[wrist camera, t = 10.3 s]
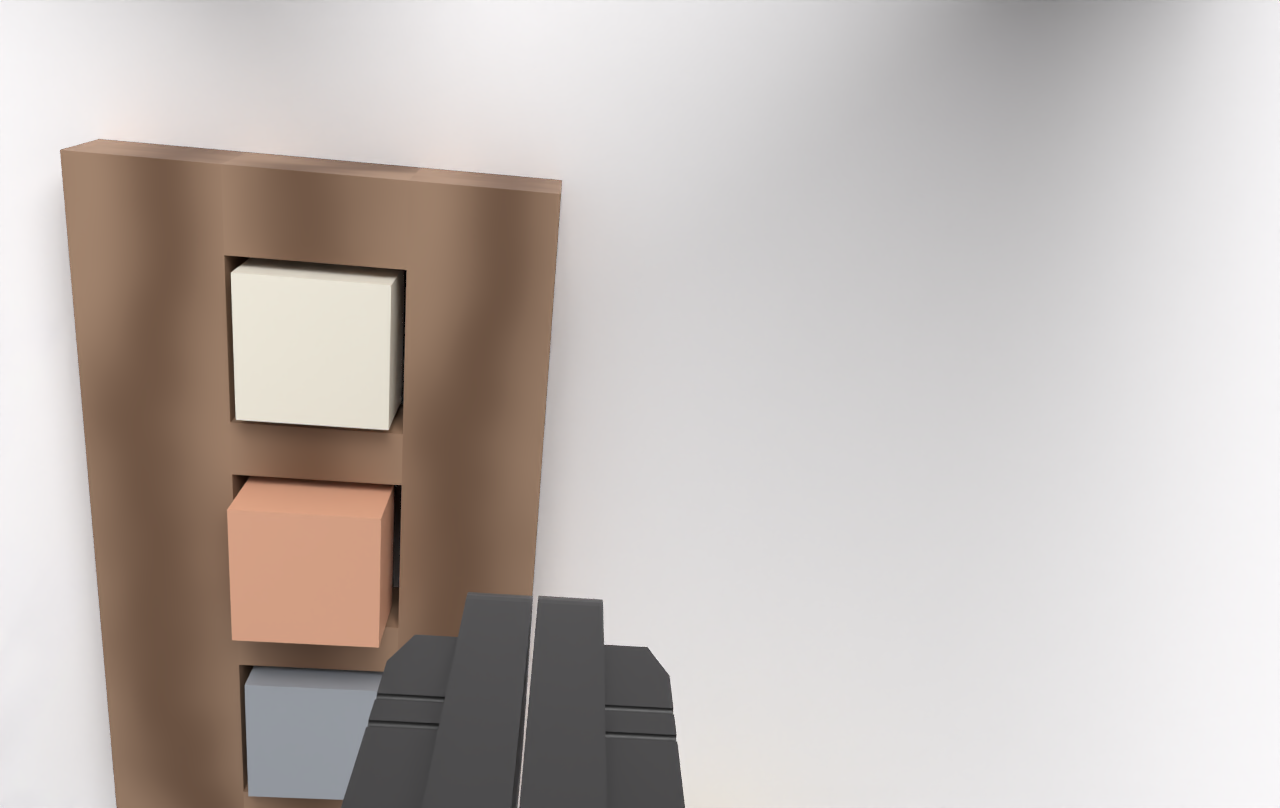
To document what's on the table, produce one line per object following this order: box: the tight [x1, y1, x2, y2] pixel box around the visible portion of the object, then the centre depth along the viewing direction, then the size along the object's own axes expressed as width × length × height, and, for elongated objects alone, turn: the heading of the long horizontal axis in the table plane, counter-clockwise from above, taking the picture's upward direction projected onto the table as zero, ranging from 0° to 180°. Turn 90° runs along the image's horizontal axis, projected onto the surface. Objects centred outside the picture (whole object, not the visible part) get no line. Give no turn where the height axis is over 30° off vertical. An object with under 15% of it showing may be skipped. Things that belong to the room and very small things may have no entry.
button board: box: [60, 139, 562, 808], centre depth 41 cm, size 16×28×3 cm, turn 175°
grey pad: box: [245, 665, 383, 800], centre depth 43 cm, size 5×5×3 cm
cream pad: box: [231, 257, 404, 430], centre depth 38 cm, size 5×5×3 cm
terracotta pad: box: [227, 476, 395, 648], centre depth 39 cm, size 5×5×3 cm
